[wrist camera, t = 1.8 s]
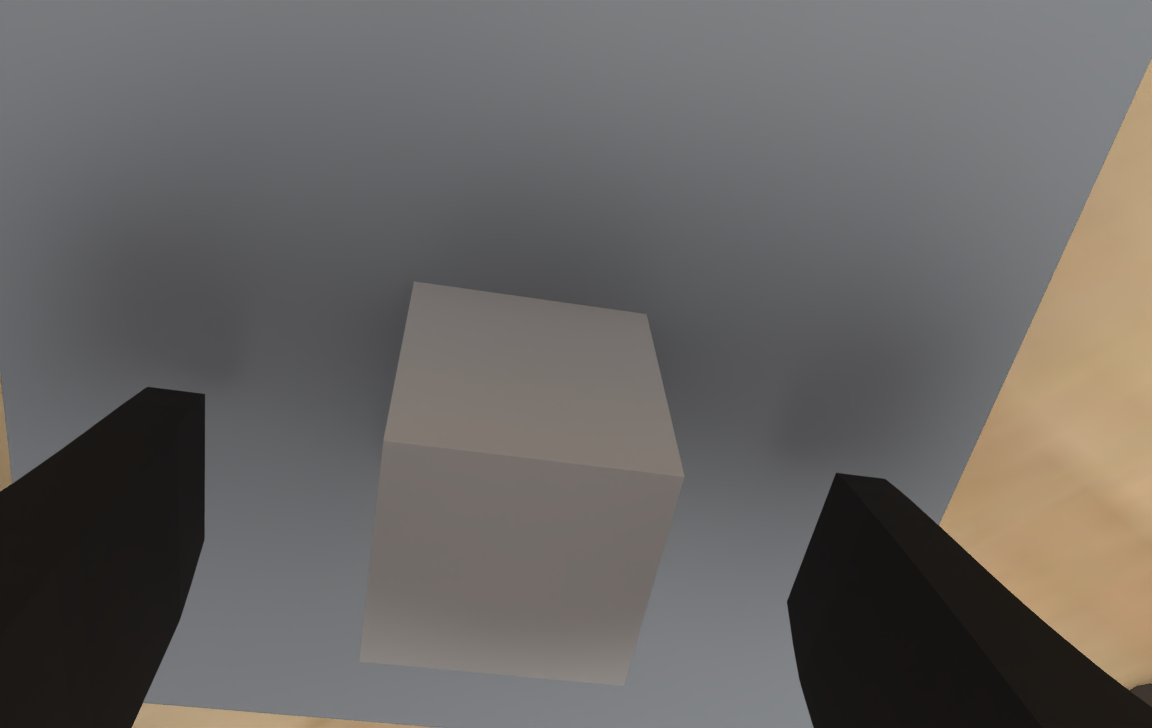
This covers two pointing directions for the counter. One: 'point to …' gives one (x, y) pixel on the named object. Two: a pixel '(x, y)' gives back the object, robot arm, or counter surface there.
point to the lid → (534, 314)
